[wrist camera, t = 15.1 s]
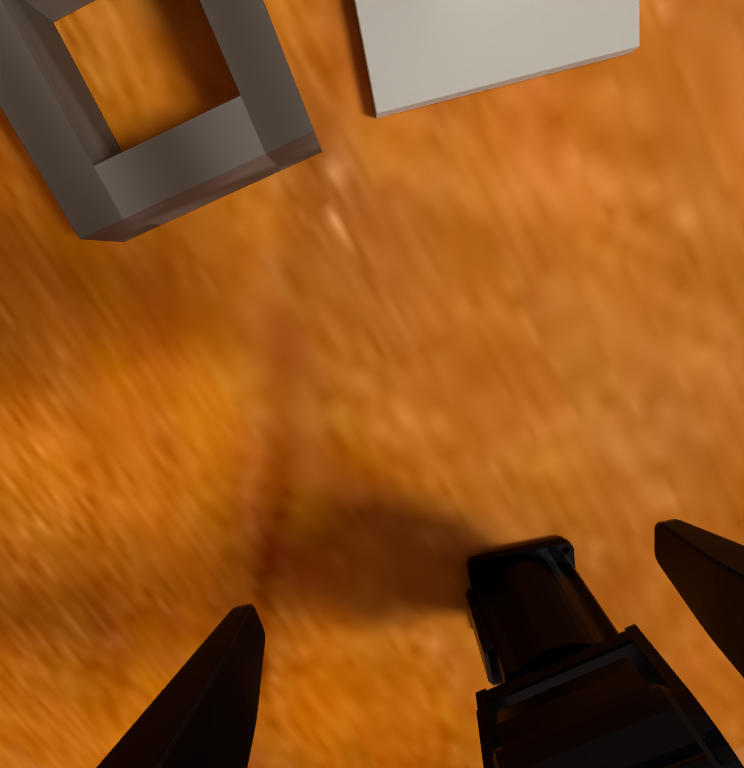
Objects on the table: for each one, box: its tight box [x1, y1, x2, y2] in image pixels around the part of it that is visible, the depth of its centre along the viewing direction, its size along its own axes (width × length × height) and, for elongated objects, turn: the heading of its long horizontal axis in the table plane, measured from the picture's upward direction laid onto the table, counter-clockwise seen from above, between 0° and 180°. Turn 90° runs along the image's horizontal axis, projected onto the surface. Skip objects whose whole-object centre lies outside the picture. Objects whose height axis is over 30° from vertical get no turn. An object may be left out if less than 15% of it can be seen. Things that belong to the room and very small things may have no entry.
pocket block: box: [0, 0, 322, 242], centre depth 15 cm, size 10×10×3 cm
